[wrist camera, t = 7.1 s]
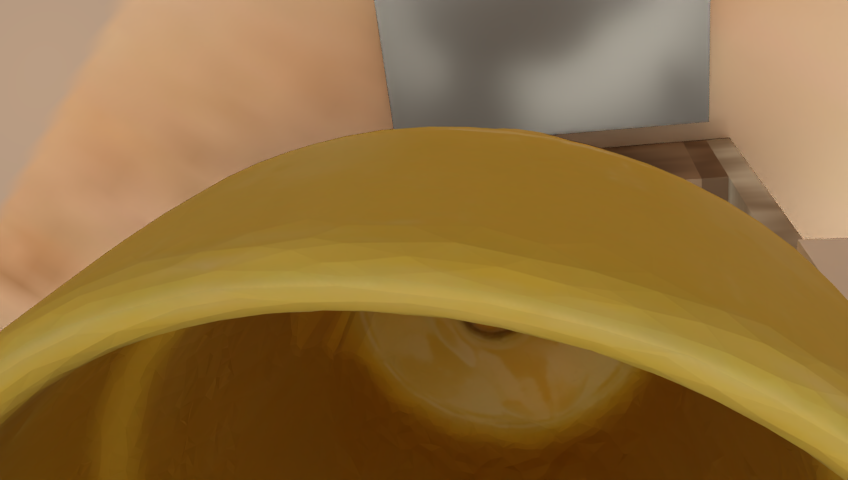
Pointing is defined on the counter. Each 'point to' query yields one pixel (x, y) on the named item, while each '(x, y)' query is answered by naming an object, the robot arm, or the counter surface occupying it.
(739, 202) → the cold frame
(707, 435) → the plant pot
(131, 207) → the counter surface
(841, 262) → the robot arm
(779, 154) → the counter surface
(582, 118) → the slate pad
